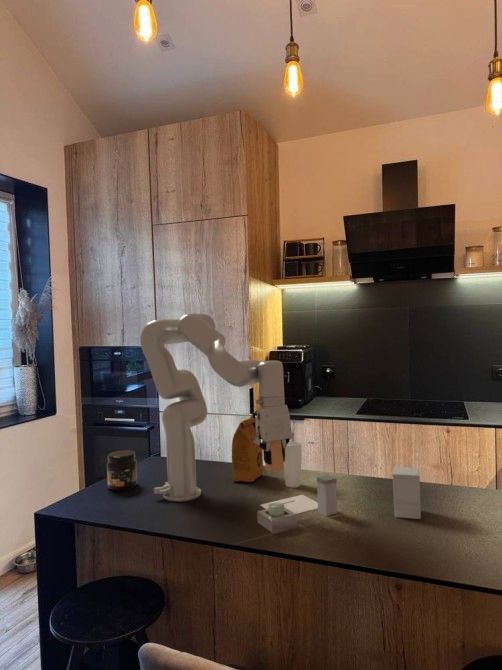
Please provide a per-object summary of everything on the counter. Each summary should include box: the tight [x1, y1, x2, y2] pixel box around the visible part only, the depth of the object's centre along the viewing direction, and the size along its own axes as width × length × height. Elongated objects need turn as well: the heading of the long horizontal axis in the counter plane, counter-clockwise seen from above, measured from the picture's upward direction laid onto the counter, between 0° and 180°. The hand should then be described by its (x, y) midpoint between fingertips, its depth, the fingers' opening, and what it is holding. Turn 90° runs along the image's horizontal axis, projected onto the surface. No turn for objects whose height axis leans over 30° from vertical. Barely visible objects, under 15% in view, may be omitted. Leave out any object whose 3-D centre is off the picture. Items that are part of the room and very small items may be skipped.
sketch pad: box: [259, 494, 318, 515], centre depth 147 cm, size 16×12×1 cm
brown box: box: [265, 440, 284, 473], centre depth 144 cm, size 4×4×11 cm
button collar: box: [256, 507, 298, 534], centre depth 134 cm, size 8×8×4 cm
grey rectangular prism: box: [316, 474, 338, 517], centre depth 141 cm, size 4×4×11 cm
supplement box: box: [392, 466, 422, 520], centre depth 138 cm, size 7×7×13 cm
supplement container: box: [106, 449, 138, 492], centre depth 171 cm, size 10×10×12 cm
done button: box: [269, 503, 285, 518], centre depth 133 cm, size 4×4×4 cm
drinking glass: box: [283, 440, 303, 488], centre depth 166 cm, size 7×7×15 cm
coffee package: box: [231, 416, 264, 483], centre depth 176 cm, size 10×12×22 cm
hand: (274, 461), depth 143 cm, fingers closed on brown box, 4 cm apart
